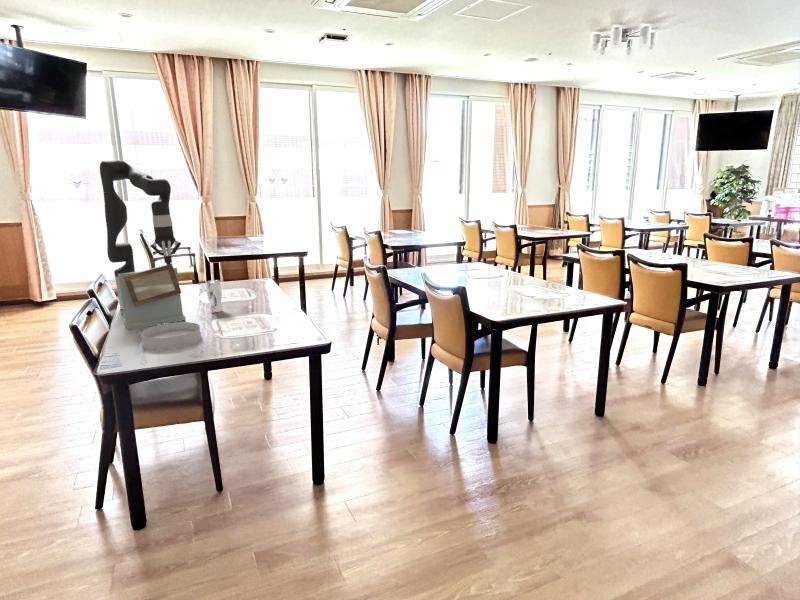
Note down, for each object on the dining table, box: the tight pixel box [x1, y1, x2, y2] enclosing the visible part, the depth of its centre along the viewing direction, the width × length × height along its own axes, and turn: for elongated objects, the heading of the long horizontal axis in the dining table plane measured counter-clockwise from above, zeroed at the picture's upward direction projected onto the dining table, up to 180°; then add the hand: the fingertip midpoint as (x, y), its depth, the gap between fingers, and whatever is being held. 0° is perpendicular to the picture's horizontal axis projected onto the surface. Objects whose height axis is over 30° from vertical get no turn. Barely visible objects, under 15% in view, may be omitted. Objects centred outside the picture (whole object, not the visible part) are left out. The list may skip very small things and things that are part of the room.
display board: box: [118, 266, 187, 331], centre depth 232 cm, size 12×24×24 cm, turn 124°
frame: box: [124, 263, 182, 307], centre depth 228 cm, size 2×20×14 cm, turn 124°
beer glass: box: [205, 279, 224, 314], centre depth 250 cm, size 7×7×15 cm
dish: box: [140, 321, 202, 350], centre depth 207 cm, size 22×22×5 cm
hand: (168, 264), depth 230 cm, fingers closed
